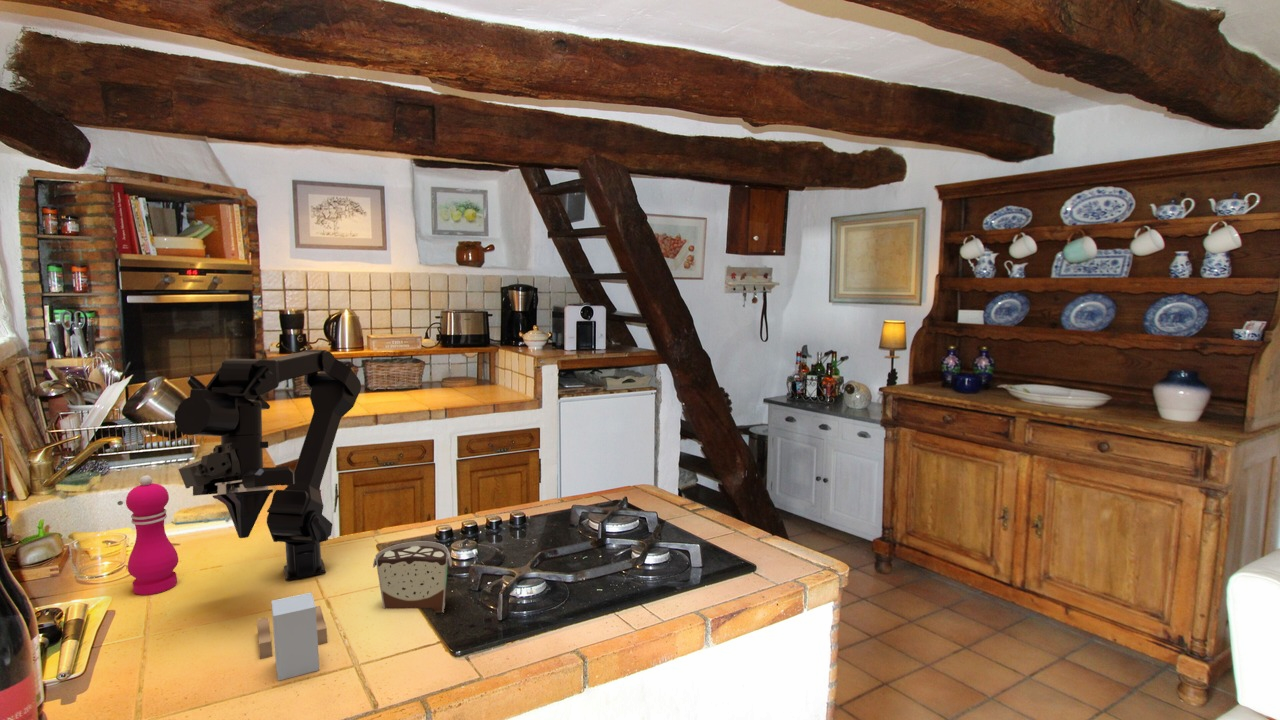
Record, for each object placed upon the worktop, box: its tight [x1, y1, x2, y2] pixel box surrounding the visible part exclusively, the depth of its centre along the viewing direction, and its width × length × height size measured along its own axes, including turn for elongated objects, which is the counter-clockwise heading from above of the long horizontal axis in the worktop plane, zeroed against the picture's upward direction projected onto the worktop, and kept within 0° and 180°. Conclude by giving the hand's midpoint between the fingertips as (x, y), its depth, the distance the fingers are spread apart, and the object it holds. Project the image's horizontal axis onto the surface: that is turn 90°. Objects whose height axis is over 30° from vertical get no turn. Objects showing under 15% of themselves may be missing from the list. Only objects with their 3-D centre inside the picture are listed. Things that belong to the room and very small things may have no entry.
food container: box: [372, 540, 453, 614], centre depth 115 cm, size 12×6×10 cm, turn 92°
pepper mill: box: [125, 474, 179, 596], centre depth 121 cm, size 7×7×20 cm
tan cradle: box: [256, 605, 328, 660], centre depth 100 cm, size 15×9×3 cm, turn 30°
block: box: [270, 592, 320, 682], centre depth 95 cm, size 5×5×9 cm
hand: (243, 537), depth 109 cm, fingers closed
